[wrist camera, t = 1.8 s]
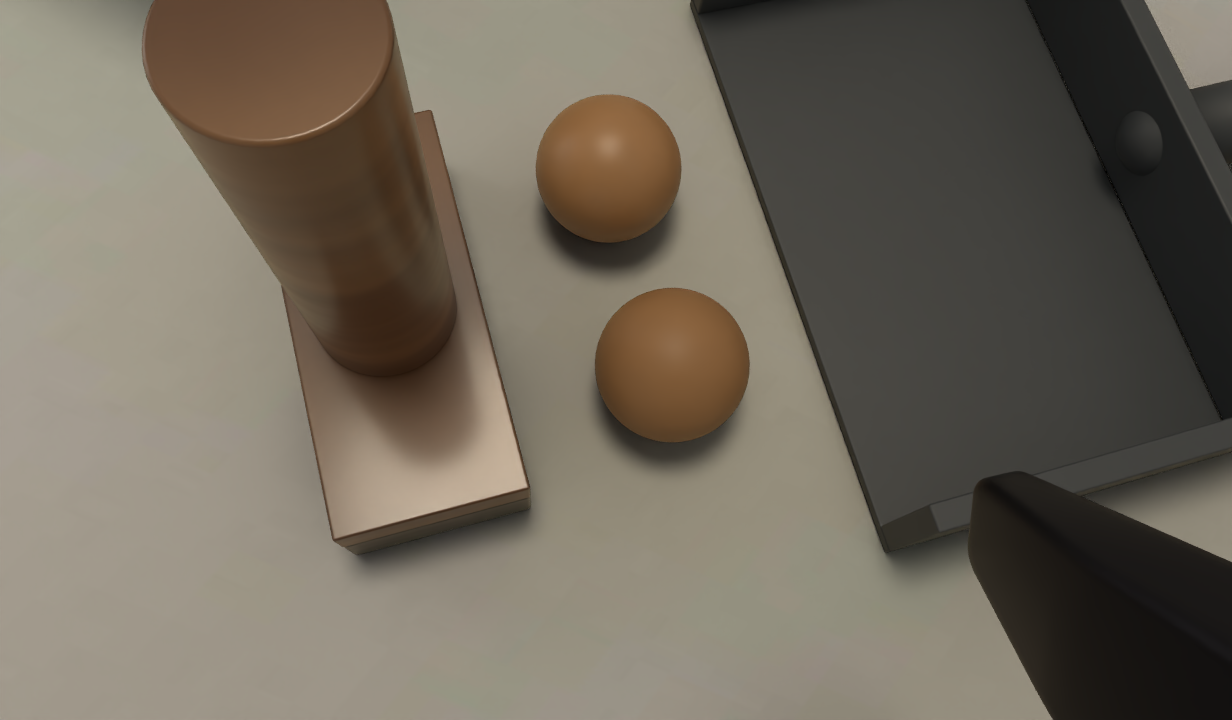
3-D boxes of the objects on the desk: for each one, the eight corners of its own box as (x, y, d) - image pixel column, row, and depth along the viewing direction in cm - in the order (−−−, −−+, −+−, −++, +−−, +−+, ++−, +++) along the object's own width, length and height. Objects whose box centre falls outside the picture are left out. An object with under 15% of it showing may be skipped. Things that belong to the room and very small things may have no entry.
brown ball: (639, 286, 24) (654, 226, 21) (513, 232, 25) (508, 164, 21) (692, 174, 25) (713, 100, 22) (570, 122, 26) (574, 41, 22)
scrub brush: (531, 508, 23) (520, 336, 11) (355, 556, 22) (153, 426, 11) (441, 162, 25) (357, -269, 14) (280, 197, 24) (51, -223, 13)
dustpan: (885, 553, 23) (939, 533, 20) (689, 3, 27) (708, -86, 24) (1554, 357, 26) (1696, 312, 22) (1283, -115, 30) (1371, -208, 27)
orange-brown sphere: (702, 480, 23) (728, 448, 20) (567, 421, 23) (572, 379, 20) (755, 352, 24) (787, 302, 21) (625, 297, 24) (638, 238, 21)
